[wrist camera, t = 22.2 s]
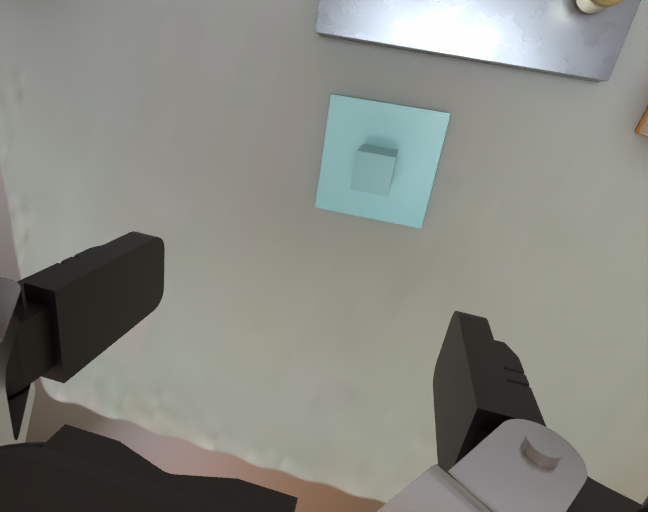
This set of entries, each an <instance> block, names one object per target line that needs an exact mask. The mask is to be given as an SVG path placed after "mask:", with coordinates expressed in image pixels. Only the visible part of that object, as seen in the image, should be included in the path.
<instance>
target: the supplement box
mask: <svg viewBox="0 0 648 512" xmlns="http://www.w3.org/2000/svg"><path fill="white" fill-rule="evenodd" d="M635 132H636V133H638V134H641V135H644V136H648V108H647V110H646V112H645V114H644V115H643V118H642V119H641V121H640V123H639V125H638V127H637V129H636V130H635Z"/></svg>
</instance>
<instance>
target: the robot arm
mask: <svg viewBox="0 0 648 512" xmlns="http://www.w3.org/2000/svg"><path fill="white" fill-rule="evenodd" d="M163 291H164V243H163V241H162V239H161V238H159V237H155V236H151V235H147V234H143V233H139V232H130V233H128V234H126V235H124V236H121V237H119V238H117V239H115V240H113V241H111V242H109V243H107V244H104V245H101V246H97V247H92V248H89V249H87V250H85V251H83V252H81V253H78V254H76V255H75V256H74V257H70V258H68V259H65V260H63V261H61V264H60V263H57V264H55V265H52V266H50V267H48V268H46V269H44V270H42V271H39V272H37V273H35V274H33V275H31V276H29V277H26V278H24V279H22V280H20V281H18V282H16V281H14V280H10V279H7V278H0V512H295V509H296V504H297V499H298V498H296V497H293V496H290V495H287V494H284V493H281V492H278V491H274V490H271V489H268V488H265V487H262V486H259V485H255V484H252V483H249V482H246V481H243V480H240V479H234V478H218V477H203V476H190V475H175V474H169V473H166V472H164V471H162V470H161V469H159V468H158V467H156V466H155V465H153V464H152V463H150V462H149V461H147V460H146V459H144V458H143V457H142V456H140V455H139V454H137V453H136V452H134V451H133V450H131V449H130V448H128V447H127V446H125V445H124V444H122V443H121V442H119V441H117V440H114V439H110V438H107V437H104V436H101V435H98V434H94V433H92V432H88V431H85V430H82V429H79V428H76V427H73V426H69V425H66V424H65V425H64V426H63V427H62V428H61V429H60V430H59V431H57V432H56V433H55V434H54V435H53V436H52V437H51V438H50V439H49V440H48V441H47V442H28V443H25V439H26V434H27V429H28V424H29V420H30V415H31V410H32V405H33V401H34V396H35V387H34V381H35V380H36V379H38V378H39V377H40V376H42V377H45V378H48V379H52V380H55V381H58V382H62V383H65V382H66V381H68V380H69V379H70V378H71V377H73V376H74V375H75V374H76V373H77V372H79V371H80V370H81V369H82V368H84V367H85V366H86V365H87V364H89V363H90V362H91V361H92V360H93V359H95V358H96V357H97V356H98V355H100V354H101V353H102V352H103V351H105V350H106V349H107V348H108V347H109V346H111V345H112V344H113V343H114V342H116V341H117V340H118V339H119V338H121V337H122V336H123V335H124V334H125V333H127V332H128V331H129V330H130V329H132V328H133V327H134V326H135V325H137V324H138V323H139V322H140V321H141V320H143V319H144V318H145V317H146V316H148V315H149V314H150V313H151V312H153V311H154V310H155V309H156V308H157V306H158V305H159V303H160V301H161V299H162V296H163ZM433 393H434V409H435V424H436V440H437V456H438V464H436V465H434V466H432V467H430V468H429V469H428V470H426V471H425V472H424V473H423V474H421V475H420V476H419V477H418V478H417V479H415V480H414V481H413V482H412V483H411V484H409V485H408V486H407V487H406V488H405V489H403V490H402V491H401V492H400V493H399V494H397V495H396V496H395V497H394V498H392V499H391V500H390V501H389V502H388V503H386V504H385V505H384V506H383V507H382V508H380V509H379V510H378V511H377V512H648V497H647V498H646V500H645V501H644V503H643V504H642V505H641V504H639V503H637V502H635V501H633V500H631V499H629V498H627V497H625V496H623V495H621V494H619V493H617V492H615V491H614V490H612V489H610V488H608V487H606V486H604V485H602V484H600V483H598V482H596V481H595V480H593V479H591V478H590V477H588V476H587V469H586V466H585V463H584V461H583V459H582V458H581V456H580V455H579V453H578V452H577V451H576V450H575V448H574V447H573V446H572V445H571V444H570V443H569V442H567V441H566V440H565V439H564V438H563V437H561V436H560V435H559V434H557V433H556V432H554V431H552V430H551V429H549V428H547V427H546V425H545V422H544V420H543V417H542V415H541V412H540V410H539V407H538V405H537V402H536V400H535V397H534V395H533V392H532V390H531V388H529V382H528V380H527V377H526V375H524V370H523V368H522V365H521V363H520V360H519V358H518V356H517V355H516V354H515V353H514V352H513V351H512V350H511V349H510V348H509V347H508V346H507V345H506V344H505V343H504V342H500V341H496V340H494V339H493V335H492V332H491V329H490V326H489V323H488V320H487V319H486V318H483V317H479V316H475V315H471V314H467V313H463V312H459V311H455V312H454V314H453V316H452V318H451V321H450V324H449V327H448V330H447V333H446V336H445V339H444V342H443V345H442V348H441V351H440V354H439V356H438V359H437V363H436V367H435V371H434V378H433Z"/></svg>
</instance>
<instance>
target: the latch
mask: <svg viewBox="0 0 648 512" xmlns="http://www.w3.org/2000/svg"><path fill="white" fill-rule="evenodd" d="M622 1H624V0H576V3H577V6H578V7H579V9H580V10H581V11H583V12H585V13H588V14H594V13H598V12H600V11H602V10H604V9H607V8H609V7H611V6H613V5H615V4H617V3H619V2H622Z"/></svg>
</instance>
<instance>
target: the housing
mask: <svg viewBox="0 0 648 512" xmlns="http://www.w3.org/2000/svg"><path fill="white" fill-rule="evenodd" d="M640 1H641V0H624V1H622V2H619V3H617V4H615V5H613V6H611V7H609V8H607V9H604V10H602V11H600V12H598V13H594V14H588V13H585V12H583V11H581V10H580V9H579V7H578V6H577V3H576V0H319V6H318V13H317V20H316V27H315V32H316V33H318V34H319V35H322V36H328V37H334V38H340V39H346V40H351V41H357V42H363V43H369V44H375V45H381V46H387V47H393V48H399V49H405V50H411V51H417V52H423V53H429V54H435V55H441V56H447V57H453V58H459V59H465V60H471V61H477V62H483V63H489V64H495V65H500V66H506V67H512V68H518V69H524V70H530V71H536V72H542V73H548V74H554V75H560V76H566V77H572V78H578V79H584V80H590V81H596V82H599V81H608V80H609V78H610V75H611V73H612V71H613V68H614V66H615V63H616V61H617V58H618V56H619V53H620V51H621V48H622V46H623V43H624V41H625V38H626V36H627V33H628V31H629V29H630V26H631V24H632V21H633V19H634V16H635V14H636V11H637V9H638V6H639V4H640Z"/></svg>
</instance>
